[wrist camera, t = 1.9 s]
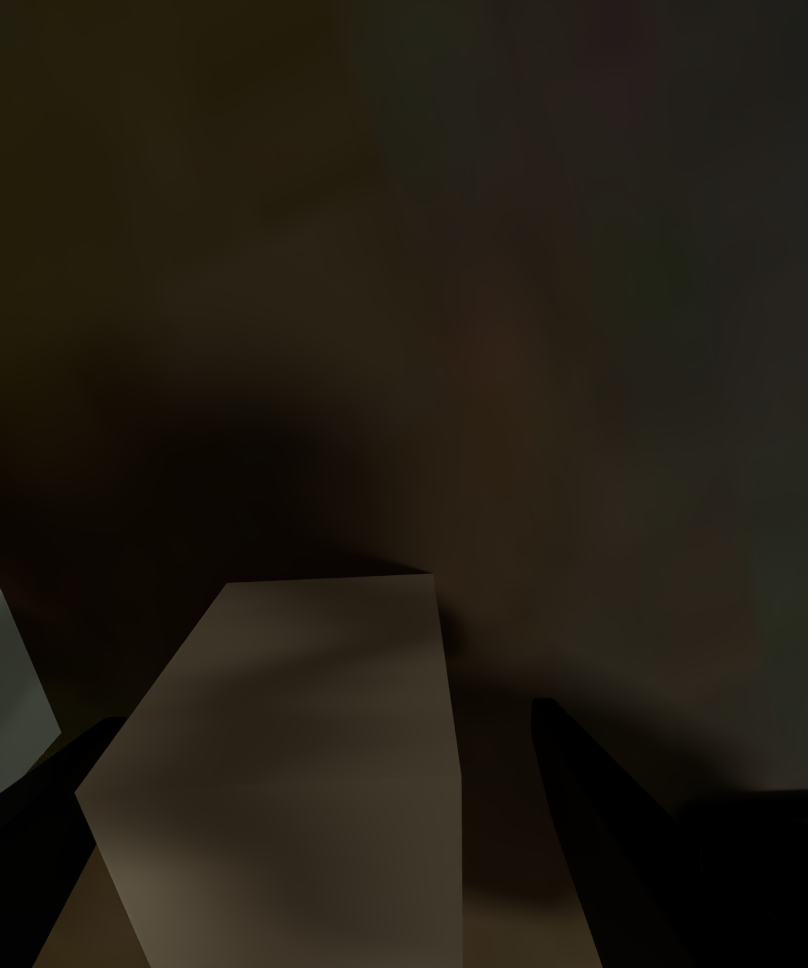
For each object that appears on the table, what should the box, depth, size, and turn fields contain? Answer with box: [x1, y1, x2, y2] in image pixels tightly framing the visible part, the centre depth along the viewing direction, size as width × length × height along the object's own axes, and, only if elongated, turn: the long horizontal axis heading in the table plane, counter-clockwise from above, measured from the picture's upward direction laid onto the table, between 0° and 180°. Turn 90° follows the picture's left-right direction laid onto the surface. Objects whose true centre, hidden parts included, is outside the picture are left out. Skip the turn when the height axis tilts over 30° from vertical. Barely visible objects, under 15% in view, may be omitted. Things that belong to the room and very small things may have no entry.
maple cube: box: [75, 574, 463, 968], centre depth 8 cm, size 5×5×5 cm
